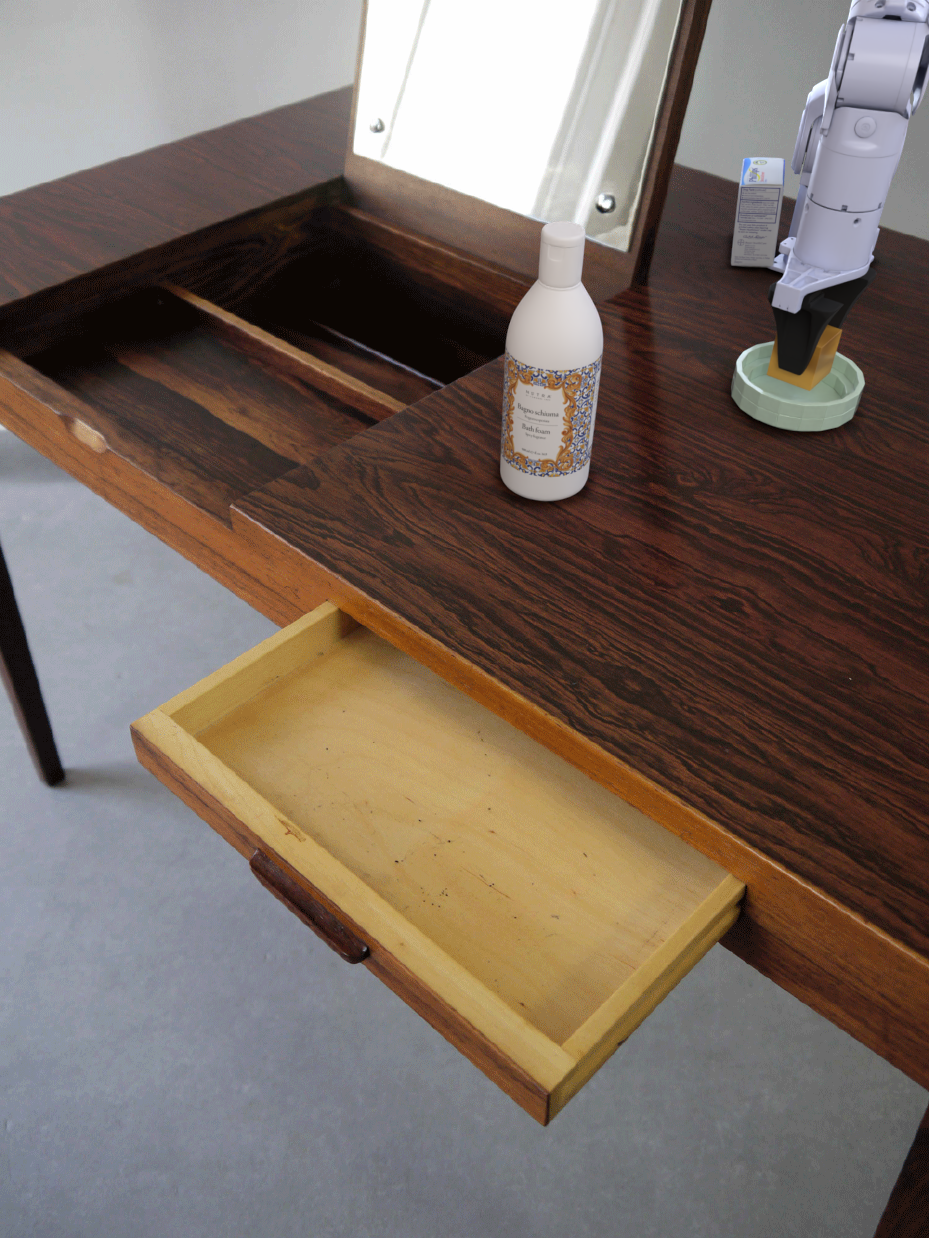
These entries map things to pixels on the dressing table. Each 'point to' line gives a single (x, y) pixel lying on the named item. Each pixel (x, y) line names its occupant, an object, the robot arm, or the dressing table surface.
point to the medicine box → (758, 212)
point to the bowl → (796, 393)
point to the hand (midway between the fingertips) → (803, 359)
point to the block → (817, 365)
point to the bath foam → (552, 375)
